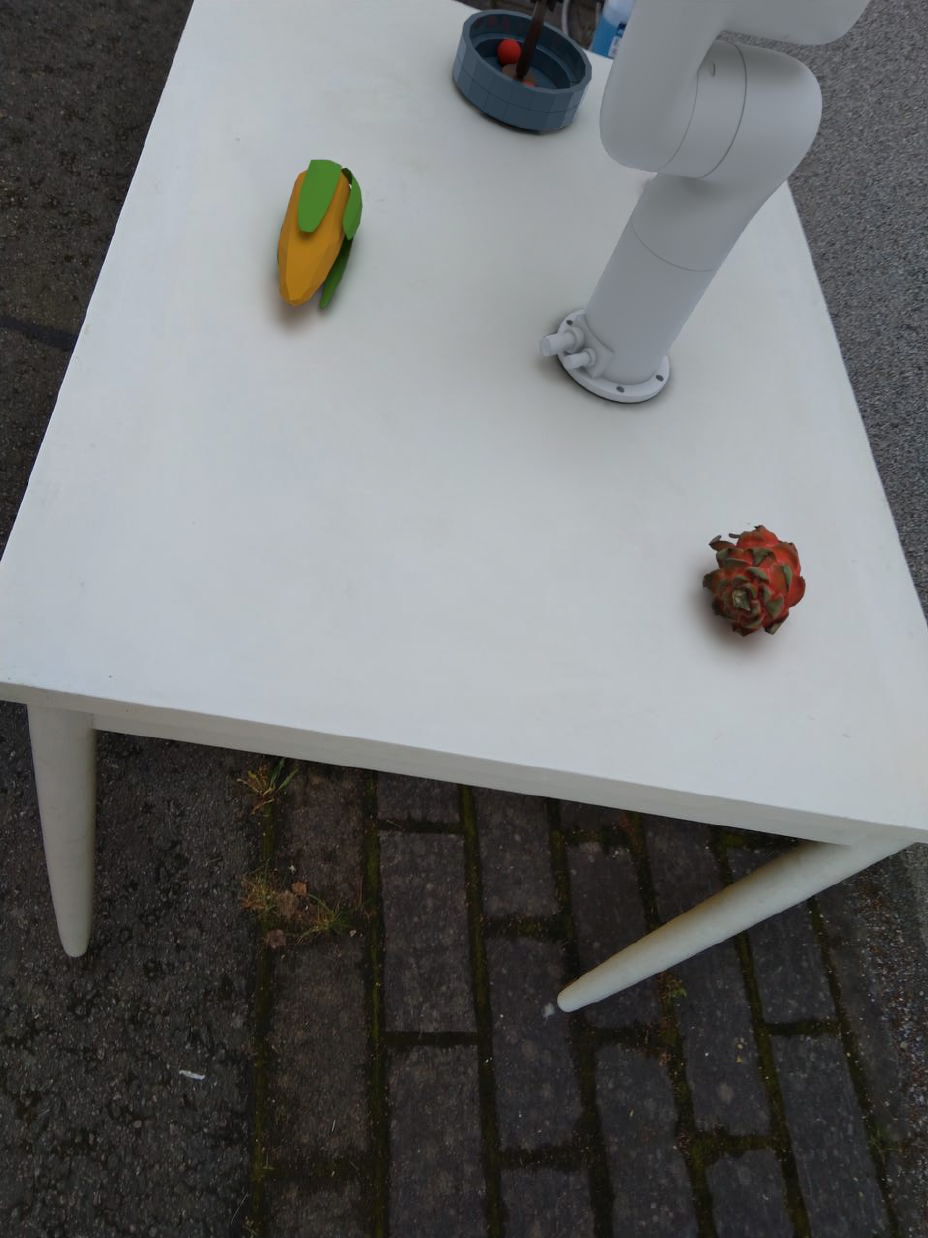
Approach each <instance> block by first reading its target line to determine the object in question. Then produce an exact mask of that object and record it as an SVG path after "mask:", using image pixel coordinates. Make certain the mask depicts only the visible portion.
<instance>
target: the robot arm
mask: <svg viewBox="0 0 928 1238" xmlns="http://www.w3.org/2000/svg"><path fill="white" fill-rule="evenodd" d="M564 2H565V0H551V1H550V4H549V7H548V9H549V10H548V12H551V13H554V12H555V9H556V6H557V4H558V3H559V4H561V5H563V4H564ZM870 2H871V0H635V2H634V5H633V7H632V10H631V13H630V15H629V18H628V21H627V23H626V26H625V29H624V31H623V33H622V37H621V39H620V42H619V44H618V48H617V51H616V53H615V55H614V59H613V61H612V64H611V67H610V70H609V73H608V75H607V78H606V79H607V80H606V82H605V86H604V89H603V94H602V98H601V103H600V110H599V124H598V126H599V135H600V140H601V144H602V146H603V148H604V150H605V152H606V154H608V156H609V157H610V158H611V159H612V161H615V162H616V163H618V164H619V165H621V166H623V167H626V168H629V169H633V170H639V171H643V172H650V173H656V175H655V176H654V177H653V178H652V179H651V180H650V181H649V182H648V184H647V185H646V187H645V188H644V190H643V191H642V193H641V194H640V197H639V198H638V200H637V202H636V204H635V206H634V208H633V210H632V211H631V213H630V215H629V218H628V219H627V222H626V224H625V226H624V228H623V230H622V232H621V234H620V236H619V238H618V240H617V243H616V244H615V246H614V248H613V251H612V252H611V254H610V257H609V259H608V260H607V263H606V265H605V267H604V269H603V271H602V273H601V275H600V277H599V279H598V281H597V283H596V284H595V287H594V289H593V291H592V293H591V295H590V297H589V299H588V301H587V304H586V305H585V307H584V308H581V309H577V310H575V311H573V312H571V313H569V314H568V315H567V316H566V317H565V318H563V320H562V321H561V323H560V325H559V327H558V329H557V332H556V333H555V334H550V335H546V336H542V337H541V338H540V339H539V343H538V348H539V353H540V354H541V355H542V356H543V357H551V356H556V355H557V358H558V359H559V361H560V363H561V365H562V367H563V368H564V369H565V371H566V372H567V373H568V374H569V375H570V377H571V378H572V379H573V380H574V381H576V382H577V383H578V384H579V385H581V386H582V387H584V388H585V390H588V391H589V392H591V393H593V394H595V395H596V396H599V397H602V398H604V399H607V400H610V401H615V402H620V403H630V404H631V403H640V402H644V401H648V400H650V399H651V398H653V397H655V396H657V395H658V394H659V393H660V392H661V391H662V389H663V388H664V386H665V385H666V383H667V381H668V379H669V376H670V370H671V369H670V368H671V366H670V360H669V357H668V354H667V353H668V351H669V350H670V349H671V347H672V345H673V344H674V342H675V341H676V339H677V337H678V336H679V334H680V333H681V331H682V329H683V328H684V326H685V325H686V323H687V321H688V320H689V318H690V317H691V315H692V313H693V312H694V310H695V309H696V307H697V306H698V304H699V302H700V301H701V299H702V297H703V295H704V294H705V293H706V291H707V290H708V288H709V286H710V284H711V283H712V281H713V280H714V278H715V277H716V275H717V273H718V271H720V269H721V267H722V265H723V264H724V263H725V261H726V259H727V258H728V256H729V254H730V253H731V251H732V250H733V248H734V246H735V245H736V243H737V242H738V241H739V240H740V237H741V236H742V234H743V233H744V231H745V229H747V227H748V225H749V224H750V223H751V221H752V220H753V219H754V218H755V216H756V215H757V213H758V212H759V211H760V210H761V208H762V207H763V206H764V205H765V203H767V201H768V200H769V199H770V198H771V197H772V196H773V195H774V194H775V193H776V191H777V190H778V189H779V188H780V187H781V186H782V185H783V184H784V183H785V182H786V181H787V180H788V178H789V177H790V176H791V175H792V174H793V172H795V171H796V169H797V168H798V166H799V165H800V164H801V163H802V161H803V160H804V158H805V156H806V155H807V154H808V152H809V150H810V149H811V147H812V144H813V143H814V141H815V138H816V136H817V134H818V131H819V127H820V124H821V120H822V112H823V95H822V91H821V85H820V84H819V82H818V79H817V77H816V76H815V75H814V73H813V72H812V71H811V69H810V68H809V67H808V66H807V65H806V64H805V63H803V62H802V61H801V60H799V59H798V58H795V57H793V56H791V55H789V54H787V53H785V52H781V51H778V50H774V49H771V48H766V47H761V46H756V45H750V44H745V43H740V42H735V41H729V40H721V39H717V37H718V36H719V35H720V34H721V33H722V32H725V31H726V32H731V33H737V34H742V35H746V36H752V37H757V38H762V39H767V40H771V41H776V42H777V41H778V42H783V43H789V44H794V45H795V44H796V45H802V46H803V45H804V46H819V45H820V46H821V45H827V44H830V43H832V42H835V41H837V40H839V39H840V38H842V37H844V36H845V35H846V34H847V33H848V32H849V31H850V30H851V29H852V28H853V27H854V25H855V24H856V23H857V21H858V20H859V19H860V17H861V16H862V15H863V13H864V11H865V10H866V8H867V7H868V5H869V4H870ZM529 3H531V4H533V5H534V4H536V3H537V0H530V1H529Z"/></svg>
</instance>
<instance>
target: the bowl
mask: <svg viewBox="0 0 928 1238" xmlns="http://www.w3.org/2000/svg"><path fill="white" fill-rule="evenodd" d="M531 19H532V15H529V14H525V13H524V12H519V11H514V10H508V9H484V10H481V11H478V12H474V13H472V14H471V15H469V17H467V18H466V20H465V21H463V24H462V28H461V31H460V35H459V39H458V43H457V48H456V51H455V54H454V59H453V64H452V69H451V72H452V75H453V78H454V81H455V84H456V86H457V87H458V89H459V90H460V91H461V92H462V94H463V95H464V96H465V98H466V99H468V100H469V101H470V102H472V104H473V105H474V106H475V107H477V108H478V109H479V110H480V111H482V112H483V113H485V114H486V115H488V116H490V117H491V118H493V119H495V120H496V121H499V122H501V123H504V124H506V125H509V126H511V127H515V128H519V129H523V130H531V131H550V130H560V129H562V128H565V127H566V126H568V125H570V124H572V123H573V122H574V120H575V119H576V117H577V116H578V114H579V112H580V109H581V107H582V105H583V102H584V100H585V96H586V94H587V93H588V92H587V91H588V90H589V87H590V84H591V82H592V79H593V66H592V63H591V62H590V59H589V57H588V55H587V53H586V52H585V51H584V50H583V48H581V46H580V45H579V44H578V42H577V41H575V40H574V39H572V38H571V37H570V36H569V35H567V34H566V33H564V32H563V31H562V30H561V29H559V28H558V27H556V26H553V25H552V24H550V23H548V22H546V21H545V22H544V25H543V28H542V31H541V34H540V37H539V40H538V43H537V46H536V49H535V52H534V55H533V58H532V61H531V64H530V67H529V70H530V71H532V72H533V73H534V74H535V76H536V77H537V80H538V84H537V87H534V86H531V85H528V84H525V83H522V82H519V81H516V80H514V79H512V78H510V77H509V76H507V75H505V74H503V73H501V71H502V68H503V67H504V65H502V64H501V63H500V61H499V59H498V56H497V51H498V47H499V45H500V44H501V42H503V41H504V40H506V39H512V40H515V41H516V42H517V43H518V45H519V46H520V50H522V47H523V44H524V41H525V37H526V34H527V31H528V28H529V25H530V22H531ZM517 63H518V62H517ZM517 63H516V65H517Z"/></svg>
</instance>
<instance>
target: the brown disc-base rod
mask: <svg viewBox="0 0 928 1238" xmlns="http://www.w3.org/2000/svg"><path fill="white" fill-rule="evenodd" d="M550 1H551V0H537V3H535V6H534V9H533V13H532V15H531V16H532V19H531V22H530V25H529V28H528V31H527V34H526V37H525V41H524V44H523V47H522V50H521V53H520V56H519V60H518V63H517V65H516V64H508V65H506V66H504V67H503V68H502V71H501V73H503V74H505V75H507V76H509V77H510V78H512V79H514V80H516V81H519V82H530V83H532V84H533V85H534V86H535V87H537V84H538V80H537V77H536V76H535V74H534V73H533V72H532V71H530V70H529V67H530V64H531V61H532V58H533V55H534V52H535V49H536V46H537V43H538V40H539V37H540V34H541V31H542V28H543V25H544V22H546V19H547V15H548V13H549V9H548V7H549V4H550Z"/></svg>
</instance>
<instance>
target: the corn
mask: <svg viewBox="0 0 928 1238" xmlns="http://www.w3.org/2000/svg"><path fill="white" fill-rule="evenodd" d="M362 213H363V195H362V189H361V186H360V184H359V182H358V180H357V178H356V176H355V175H354V173H353V172H352V171H351V170H350V169H349V168H348V167H344V168H343V166H342V164H339V163H337V162H335V161H333V160H331V159H310V161H309V164H308V167H307V169H306V170H303V171H302V172H299V173H298V175H297V177H296V179H295V181H294V184H293V187H292V190H291V194H290V197H289V201H288V205H287V208H286V212H285V215H284V220H283V223H282V226H281V230H280V233H279V238H278V242H277V252H276V253H277V255H276V259H277V264H278V283H279V285H278V286H279V294H280V296H281V297H282V298H283V300H284V302H285V303H287V304H290V305H292V306H295V307H297V306H300V305H302V304H304V303H306V302H308V301H310V300H311V298H312V297H313V296H314V294H316V292H317V291H318V289H319V288H320V287H321V286H322V284H323V283H324V287H323V290H322V291H323V292H322V294H321V295H322V296H321V299H320V307H321V308H326V307H327V305H328V303H329V302H330V300H331V298H332V297H333V295H334V293H335V292H336V289H337V288H338V286H339V284H340V282H341V280H342V279H343V277H344V273H345V269H346V267H347V265H348V261H349V259H350V255H351V251H352V246H353V241H354V237H355V235H356V233H357V230H358V229H359V227H360V224H361V218H362Z"/></svg>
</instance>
